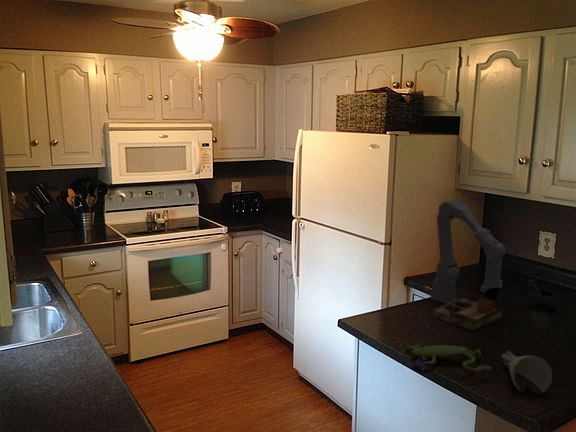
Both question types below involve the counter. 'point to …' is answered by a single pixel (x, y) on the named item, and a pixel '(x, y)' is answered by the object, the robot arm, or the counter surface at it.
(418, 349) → the figurine
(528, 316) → the counter surface
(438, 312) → the trap board
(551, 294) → the mortar and pestle
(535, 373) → the rocket engine
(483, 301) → the block
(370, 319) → the counter surface
